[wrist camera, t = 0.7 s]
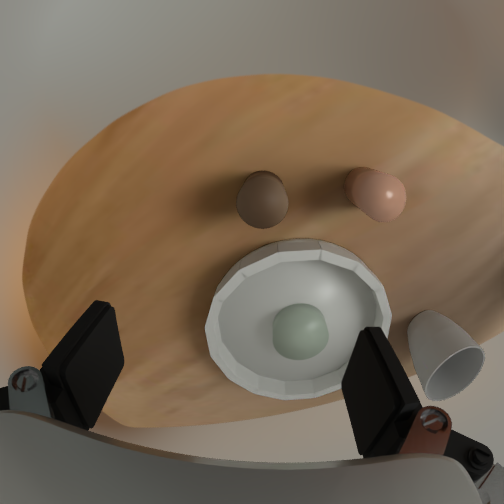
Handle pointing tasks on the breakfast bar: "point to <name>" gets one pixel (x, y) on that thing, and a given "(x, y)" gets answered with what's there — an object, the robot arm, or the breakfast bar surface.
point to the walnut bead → (262, 200)
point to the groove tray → (284, 288)
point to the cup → (443, 355)
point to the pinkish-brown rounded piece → (376, 193)
